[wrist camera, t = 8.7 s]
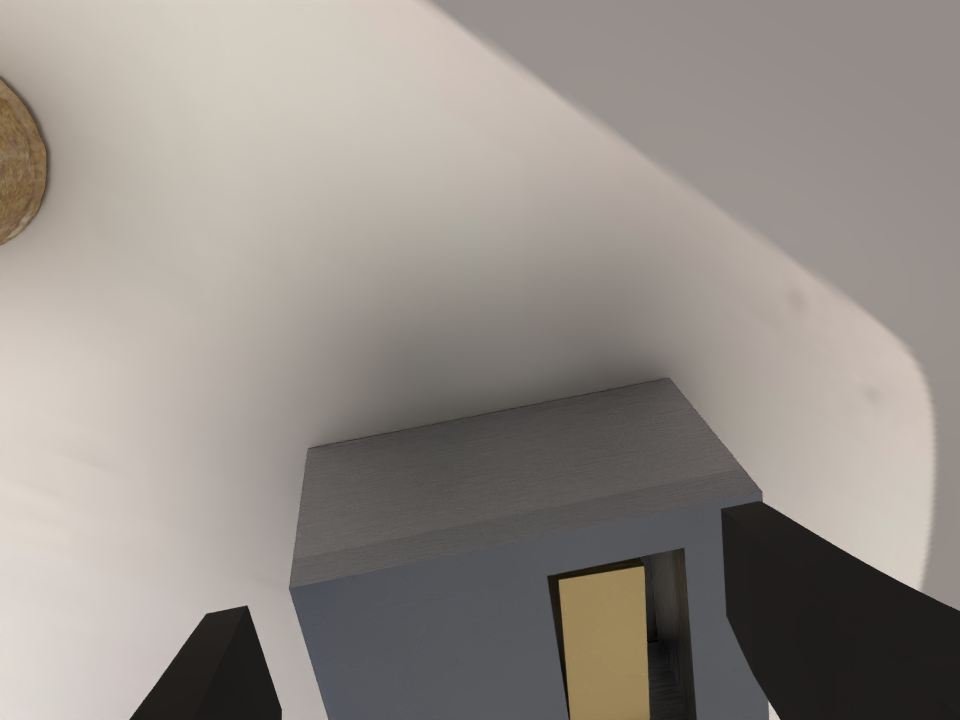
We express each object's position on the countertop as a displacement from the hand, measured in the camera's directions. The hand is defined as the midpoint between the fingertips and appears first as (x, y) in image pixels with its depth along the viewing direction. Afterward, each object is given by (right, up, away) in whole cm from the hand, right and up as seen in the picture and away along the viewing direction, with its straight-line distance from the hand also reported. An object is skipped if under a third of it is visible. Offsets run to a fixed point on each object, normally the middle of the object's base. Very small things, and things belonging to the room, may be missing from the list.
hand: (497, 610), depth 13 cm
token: (+2, -2, +12) cm, 13 cm away
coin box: (+1, -2, +12) cm, 13 cm away
